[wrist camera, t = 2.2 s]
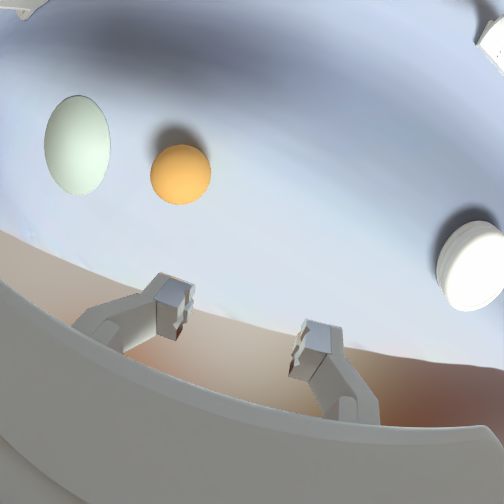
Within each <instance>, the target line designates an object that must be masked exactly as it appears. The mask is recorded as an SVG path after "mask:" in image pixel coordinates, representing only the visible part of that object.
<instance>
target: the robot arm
mask: <svg viewBox="0 0 504 504" xmlns="http://www.w3.org/2000/svg"><path fill="white" fill-rule="evenodd" d="M47 1H49V0H0V8H4V9H14V10H15V11H16V13H17V14H18V16H19V17H20V19H22V20H27V19H28V18H29V17H30V16H31V15H32V14H33V13H34V12H35V10H36V9H37V8H39V7H40V6H42V5H43V4H45V3H46V2H47ZM194 293H195V284H192V283H189V282H187V281H184V280H181V279H179V278H176V277H173V276H170V275H167V274H165V273H162V272H161V273H158V274H157V275H156V277H155V278H154V279H153V280H152V281H151V282H150V283H149V285H148V286H147V287H146V288H145V289H144V290H143V292H142V293H141V294H138V293H136V294H133V295H129V296H127V297H123V298H120V299H117V300H114V301H111V302H107V303H104V304H101V305H98V306H95V307H91V308H88V309H87V310H86V311H85V312H84V313H83V314H82V315H81V316H80V317H79V318H78V319H77V320H76V322H75V323H74V324H73V325H72V326H71V327H70V326H68V325H67V324H65V323H64V322H62V321H60V320H59V319H57V318H55V317H54V316H52V315H51V314H49V313H47V312H46V311H44V310H43V309H41V308H40V307H38V306H37V305H35V304H34V303H32V302H31V301H29V300H28V299H27V298H25V297H24V296H22V295H21V294H20V293H18V292H17V291H15V290H14V289H13V288H12V287H10V286H9V285H8V284H6V283H5V282H4V281H2V280H1V279H0V504H504V449H503V446H502V445H501V443H500V441H499V440H498V439H497V437H496V436H495V435H494V434H493V433H492V431H491V430H490V429H489V428H488V427H487V426H484V425H477V426H466V427H445V428H414V427H413V428H412V427H392V426H380V414H379V402H378V400H377V398H376V397H375V395H374V394H373V393H372V391H371V390H370V388H369V387H368V386H367V384H366V383H365V381H364V380H363V379H362V377H361V376H360V375H359V373H358V372H357V371H356V369H355V368H354V366H353V365H352V364H351V362H350V361H349V360H348V359H347V358H344V345H343V330H342V328H341V327H338V326H334V325H328V324H324V323H321V322H317V321H313V320H309V319H305V320H304V322H303V324H302V327H301V332H299V333H298V334H297V336H296V339H295V341H294V344H293V349H292V353H291V355H292V357H293V359H292V361H291V363H290V368H289V375H288V376H289V377H292V378H295V379H299V380H303V381H307V382H308V384H309V386H310V388H311V390H312V392H313V394H314V396H315V399H316V400H317V403H318V405H319V407H320V409H321V411H322V413H323V416H322V417H321V418H318V417H312V416H307V415H301V414H297V413H292V412H288V411H283V410H279V409H274V408H271V407H266V406H263V405H259V404H255V403H251V402H247V401H244V400H241V399H237V398H234V397H231V396H227V395H224V394H221V393H218V392H215V391H212V390H209V389H206V388H203V387H200V386H197V385H194V384H192V383H189V382H186V381H184V380H181V379H178V378H176V377H173V376H171V375H168V374H166V373H163V372H161V371H158V370H156V369H154V368H151V367H149V366H147V365H144V364H142V363H140V362H138V361H136V360H133V359H131V358H129V357H127V356H125V355H124V352H126V351H127V350H129V349H131V348H133V347H135V346H137V345H139V344H141V343H143V342H144V341H146V340H148V339H150V338H152V337H154V336H155V335H156V334H158V335H160V336H163V337H166V338H168V339H171V340H174V341H176V340H177V338H178V337H179V335H180V333H181V331H182V329H183V324H184V323H187V321H188V319H189V317H190V315H191V312H192V308H193V303H194V301H193V299H192V296H193V295H194Z"/></svg>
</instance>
